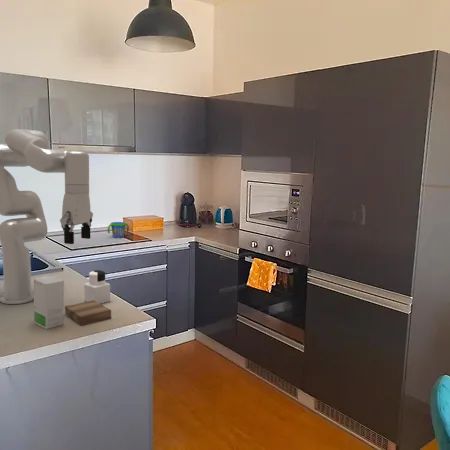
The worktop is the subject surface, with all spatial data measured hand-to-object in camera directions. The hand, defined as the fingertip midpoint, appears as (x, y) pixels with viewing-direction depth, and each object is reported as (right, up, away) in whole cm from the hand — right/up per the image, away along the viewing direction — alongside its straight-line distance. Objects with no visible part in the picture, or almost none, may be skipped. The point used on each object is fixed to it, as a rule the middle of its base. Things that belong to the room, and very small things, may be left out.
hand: (77, 240), depth 143 cm
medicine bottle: (-1, -25, +25) cm, 35 cm away
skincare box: (-10, -28, +2) cm, 30 cm away
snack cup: (-26, -4, +158) cm, 161 cm away
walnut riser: (0, -27, +9) cm, 29 cm away
